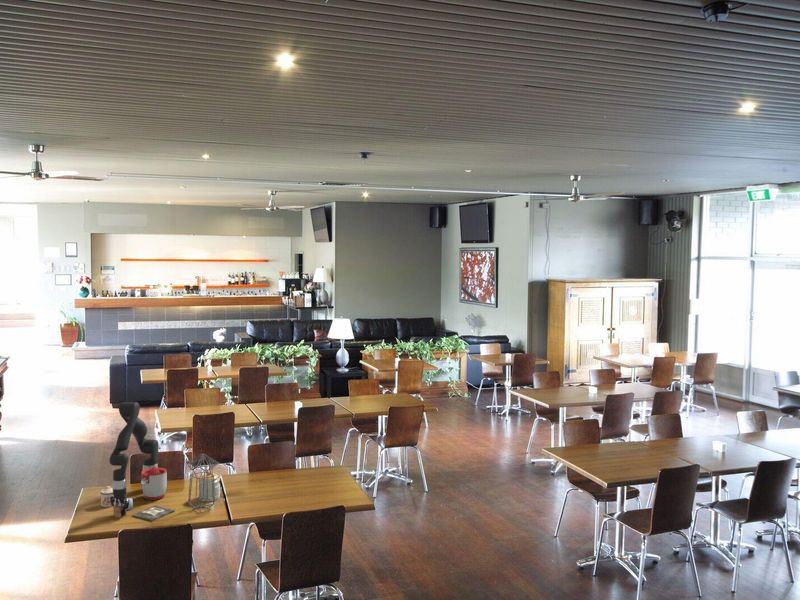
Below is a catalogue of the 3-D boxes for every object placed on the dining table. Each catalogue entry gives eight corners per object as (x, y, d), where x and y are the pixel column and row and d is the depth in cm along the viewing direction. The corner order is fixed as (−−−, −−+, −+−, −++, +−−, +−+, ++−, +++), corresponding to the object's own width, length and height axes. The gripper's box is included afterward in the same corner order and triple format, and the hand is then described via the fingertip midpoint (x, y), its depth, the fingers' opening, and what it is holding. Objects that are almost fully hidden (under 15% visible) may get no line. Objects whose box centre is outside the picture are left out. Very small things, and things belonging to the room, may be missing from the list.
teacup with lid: (101, 508, 446) (101, 490, 445) (99, 503, 454) (99, 485, 453) (122, 505, 452) (122, 487, 451) (120, 500, 460) (119, 482, 459)
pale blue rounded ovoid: (128, 507, 450) (128, 497, 449) (134, 508, 447) (134, 499, 447) (122, 509, 445) (122, 500, 445) (128, 511, 443) (128, 501, 442)
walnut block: (120, 513, 439) (120, 503, 438) (126, 515, 437) (126, 505, 436) (113, 516, 435) (113, 506, 434) (119, 518, 432) (119, 508, 432)
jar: (214, 502, 460) (214, 475, 458) (195, 500, 462) (194, 473, 461) (223, 495, 473) (223, 469, 471) (204, 493, 475) (204, 467, 474)
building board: (155, 506, 451) (155, 503, 451) (174, 511, 444) (174, 508, 444) (132, 516, 435) (132, 513, 435) (152, 521, 428) (152, 518, 428)
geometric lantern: (183, 509, 447) (184, 453, 445) (206, 504, 458) (207, 449, 456) (196, 516, 436) (197, 458, 434) (220, 510, 447) (220, 454, 445)
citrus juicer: (133, 499, 463) (133, 468, 461) (154, 491, 478) (154, 461, 476) (151, 504, 455) (151, 472, 454) (172, 495, 471) (172, 465, 469)
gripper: (133, 487, 434) (133, 514, 436) (116, 482, 441) (116, 510, 442) (123, 490, 428) (123, 519, 429) (105, 486, 434) (106, 514, 436)
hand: (119, 514), depth 436 cm, fingers closed on walnut block, 5 cm apart
